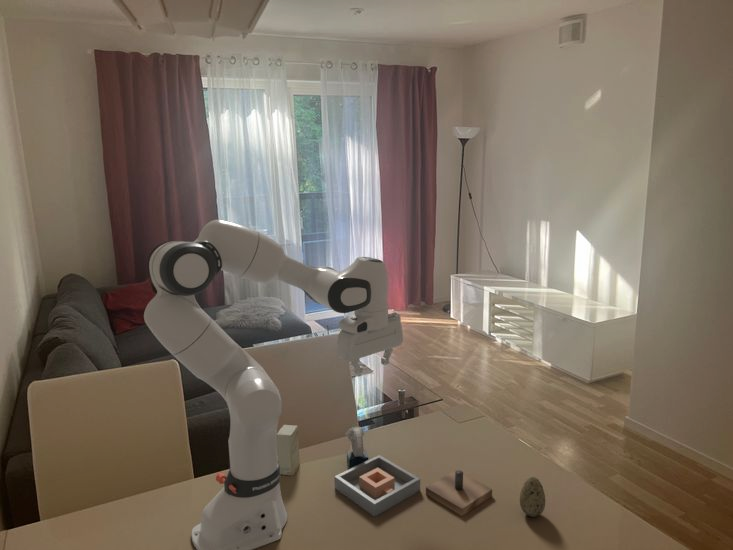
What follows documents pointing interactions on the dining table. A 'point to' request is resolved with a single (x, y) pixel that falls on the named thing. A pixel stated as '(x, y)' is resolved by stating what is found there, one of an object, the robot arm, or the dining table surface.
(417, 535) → the dining table surface
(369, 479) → the ring
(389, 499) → the tray
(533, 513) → the decorative egg
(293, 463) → the skincare box
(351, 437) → the watch
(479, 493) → the base
